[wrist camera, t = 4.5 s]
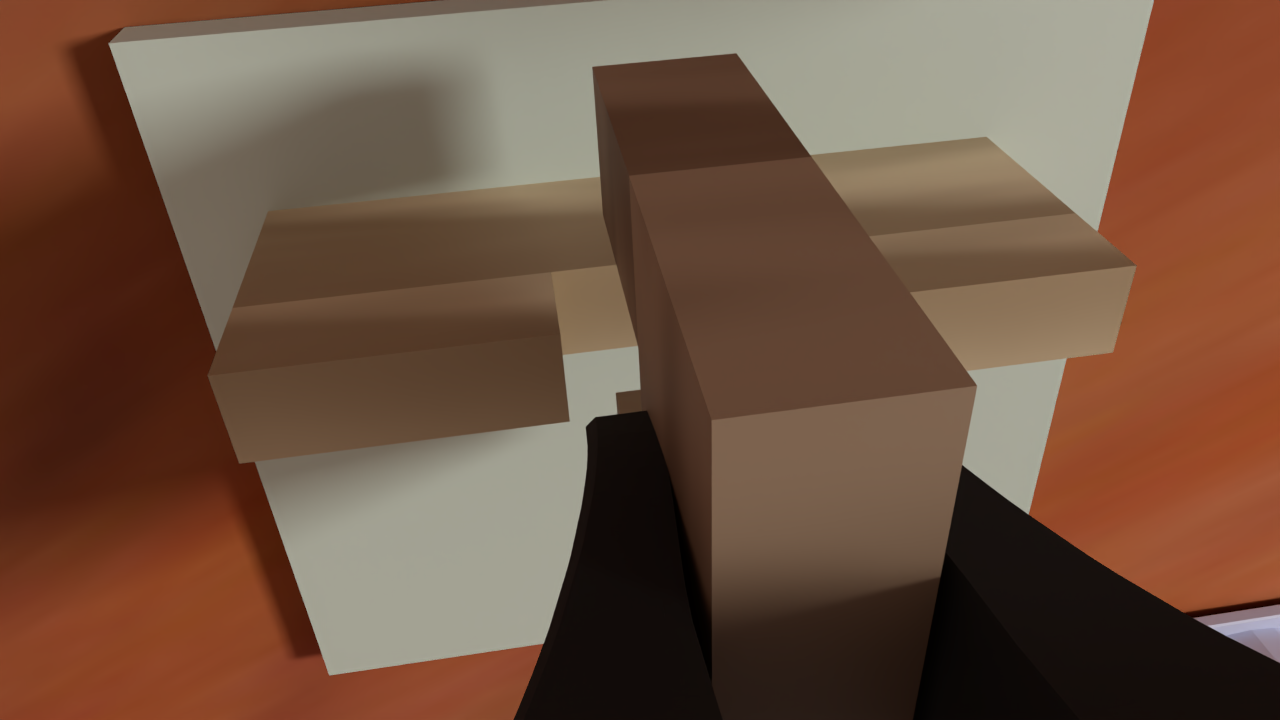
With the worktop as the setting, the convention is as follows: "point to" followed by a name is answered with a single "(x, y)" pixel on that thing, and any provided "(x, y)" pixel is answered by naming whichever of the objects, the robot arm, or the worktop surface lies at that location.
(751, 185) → the wooden c-clamp shape
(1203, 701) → the robot arm
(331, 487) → the board
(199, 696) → the worktop surface
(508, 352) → the wooden u-shaped block
